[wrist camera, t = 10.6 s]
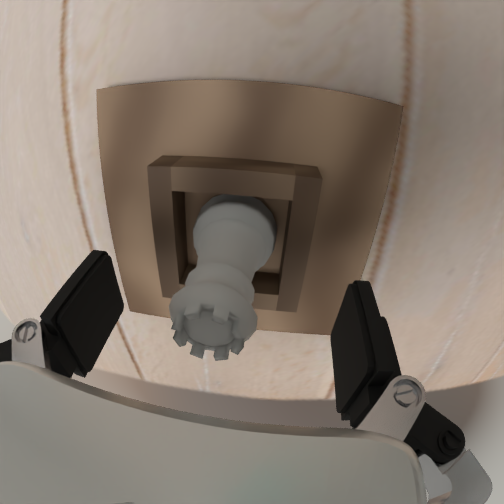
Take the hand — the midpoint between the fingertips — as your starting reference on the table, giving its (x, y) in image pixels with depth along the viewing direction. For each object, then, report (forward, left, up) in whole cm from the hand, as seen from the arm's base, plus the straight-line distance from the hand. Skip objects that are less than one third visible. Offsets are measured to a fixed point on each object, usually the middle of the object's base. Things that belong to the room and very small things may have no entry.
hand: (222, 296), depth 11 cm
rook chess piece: (0, 0, -6) cm, 6 cm away
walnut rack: (0, 0, -7) cm, 7 cm away
